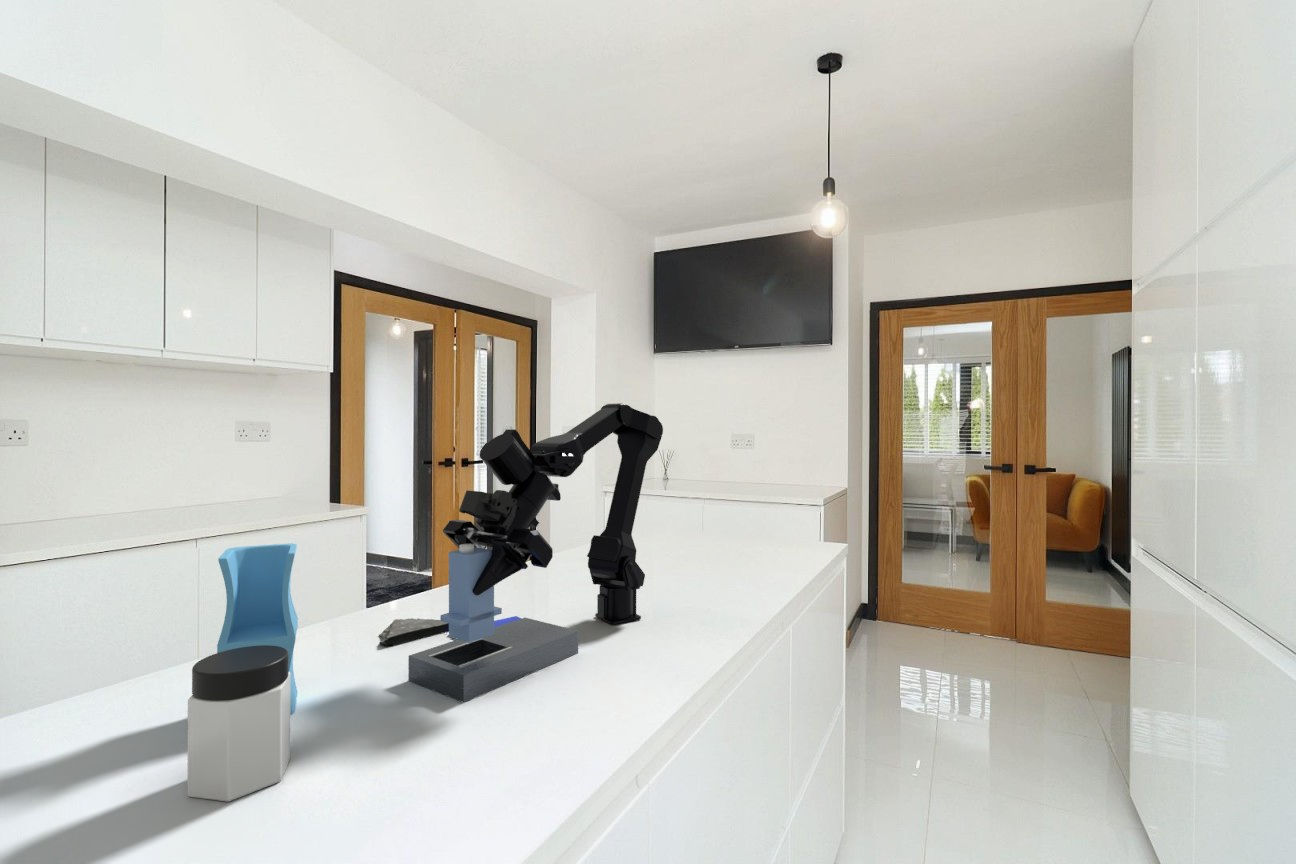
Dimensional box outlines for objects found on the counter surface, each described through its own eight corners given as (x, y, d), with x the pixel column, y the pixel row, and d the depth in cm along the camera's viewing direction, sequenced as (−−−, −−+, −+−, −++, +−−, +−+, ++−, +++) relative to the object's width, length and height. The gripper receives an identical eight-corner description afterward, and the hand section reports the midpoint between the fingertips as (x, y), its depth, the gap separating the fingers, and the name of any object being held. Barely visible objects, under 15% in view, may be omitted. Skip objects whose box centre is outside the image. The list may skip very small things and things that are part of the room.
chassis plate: (524, 638, 104) (525, 616, 104) (578, 652, 97) (578, 630, 97) (408, 680, 86) (408, 654, 86) (463, 702, 79) (463, 674, 79)
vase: (216, 730, 72) (217, 558, 72) (226, 703, 79) (227, 547, 79) (294, 715, 76) (295, 552, 76) (297, 691, 83) (297, 542, 83)
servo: (481, 626, 92) (481, 538, 92) (501, 631, 89) (501, 542, 89) (440, 639, 86) (440, 546, 86) (460, 645, 84) (460, 549, 84)
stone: (384, 652, 99) (384, 638, 99) (359, 639, 106) (358, 626, 106) (459, 631, 109) (459, 619, 109) (431, 621, 116) (431, 609, 116)
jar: (275, 747, 68) (275, 638, 68) (305, 773, 63) (305, 655, 63) (175, 782, 61) (176, 661, 61) (200, 814, 56) (200, 682, 56)
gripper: (453, 467, 96) (388, 549, 87) (538, 472, 86) (474, 566, 77) (492, 512, 103) (436, 593, 94) (576, 522, 92) (521, 614, 83)
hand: (463, 591), depth 87 cm, fingers closed on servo, 4 cm apart
